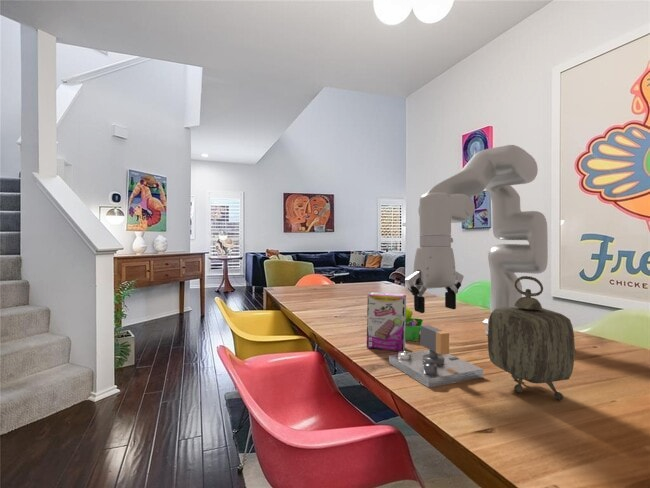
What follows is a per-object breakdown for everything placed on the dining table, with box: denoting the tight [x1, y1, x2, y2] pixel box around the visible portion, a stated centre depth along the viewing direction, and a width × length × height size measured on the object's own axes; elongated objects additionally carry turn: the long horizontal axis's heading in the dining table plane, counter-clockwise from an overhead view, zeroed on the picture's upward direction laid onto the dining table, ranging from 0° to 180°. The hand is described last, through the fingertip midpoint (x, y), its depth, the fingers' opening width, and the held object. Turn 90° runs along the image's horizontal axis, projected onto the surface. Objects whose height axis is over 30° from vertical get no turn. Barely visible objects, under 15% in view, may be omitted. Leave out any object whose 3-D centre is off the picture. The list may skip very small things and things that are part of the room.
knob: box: [419, 324, 450, 365], centre depth 84 cm, size 5×8×8 cm, turn 19°
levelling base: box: [388, 349, 484, 389], centre depth 84 cm, size 16×16×4 cm
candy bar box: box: [366, 291, 407, 352], centre depth 101 cm, size 11×5×16 cm, turn 71°
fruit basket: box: [405, 306, 424, 342], centre depth 114 cm, size 11×9×11 cm
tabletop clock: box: [487, 275, 576, 401], centre depth 73 cm, size 14×9×25 cm, turn 17°
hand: (435, 310), depth 84 cm, fingers open, 9 cm apart
